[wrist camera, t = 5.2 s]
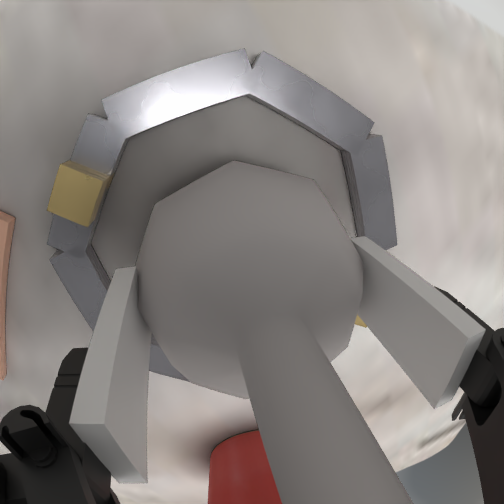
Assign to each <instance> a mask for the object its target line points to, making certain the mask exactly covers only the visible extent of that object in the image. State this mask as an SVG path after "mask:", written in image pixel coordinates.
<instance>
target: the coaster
mask: <svg viewBox="0 0 504 504" xmlns="http://www.w3.org/2000/svg"><path fill="white" fill-rule="evenodd" d="M14 224H15V217H13V216H10V215H8V214H6V213H4V212H2V211H0V379H1V380H4V378H5V376H6V374H7V370H6V351H5V307H6V288H7V276H8V266H9V257H10V249H11V242H12V236H13V230H14Z"/></svg>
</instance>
